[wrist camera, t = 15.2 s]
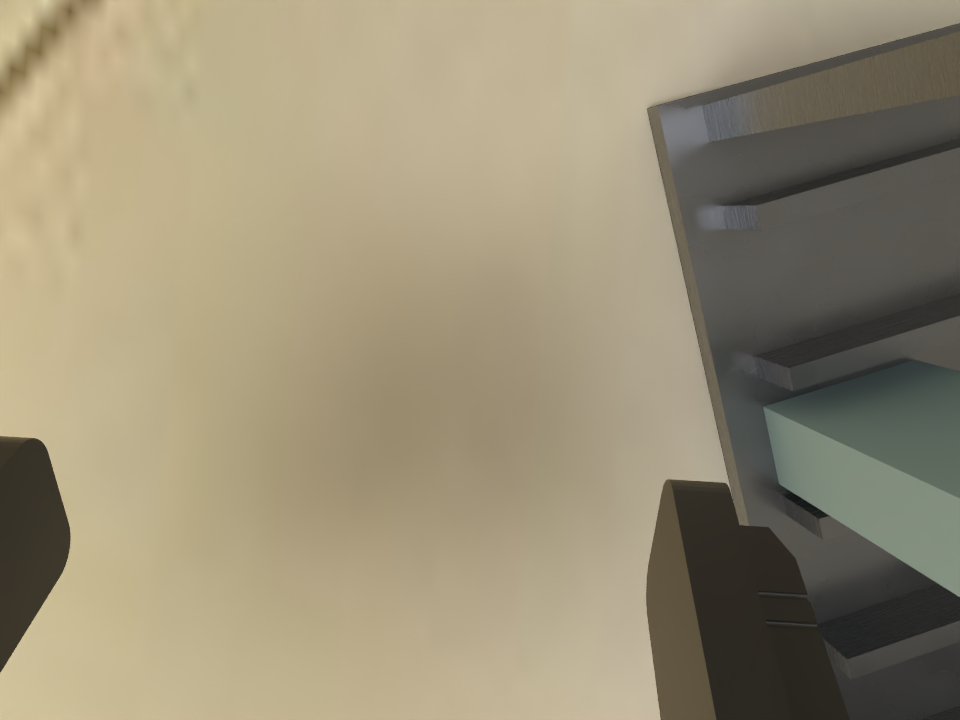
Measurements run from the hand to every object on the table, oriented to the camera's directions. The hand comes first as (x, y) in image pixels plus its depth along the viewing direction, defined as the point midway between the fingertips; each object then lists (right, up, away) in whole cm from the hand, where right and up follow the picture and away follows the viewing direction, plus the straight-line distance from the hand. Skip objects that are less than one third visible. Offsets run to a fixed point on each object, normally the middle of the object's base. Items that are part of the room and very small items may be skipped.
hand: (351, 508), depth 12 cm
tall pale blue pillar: (+15, 0, +21) cm, 26 cm away
